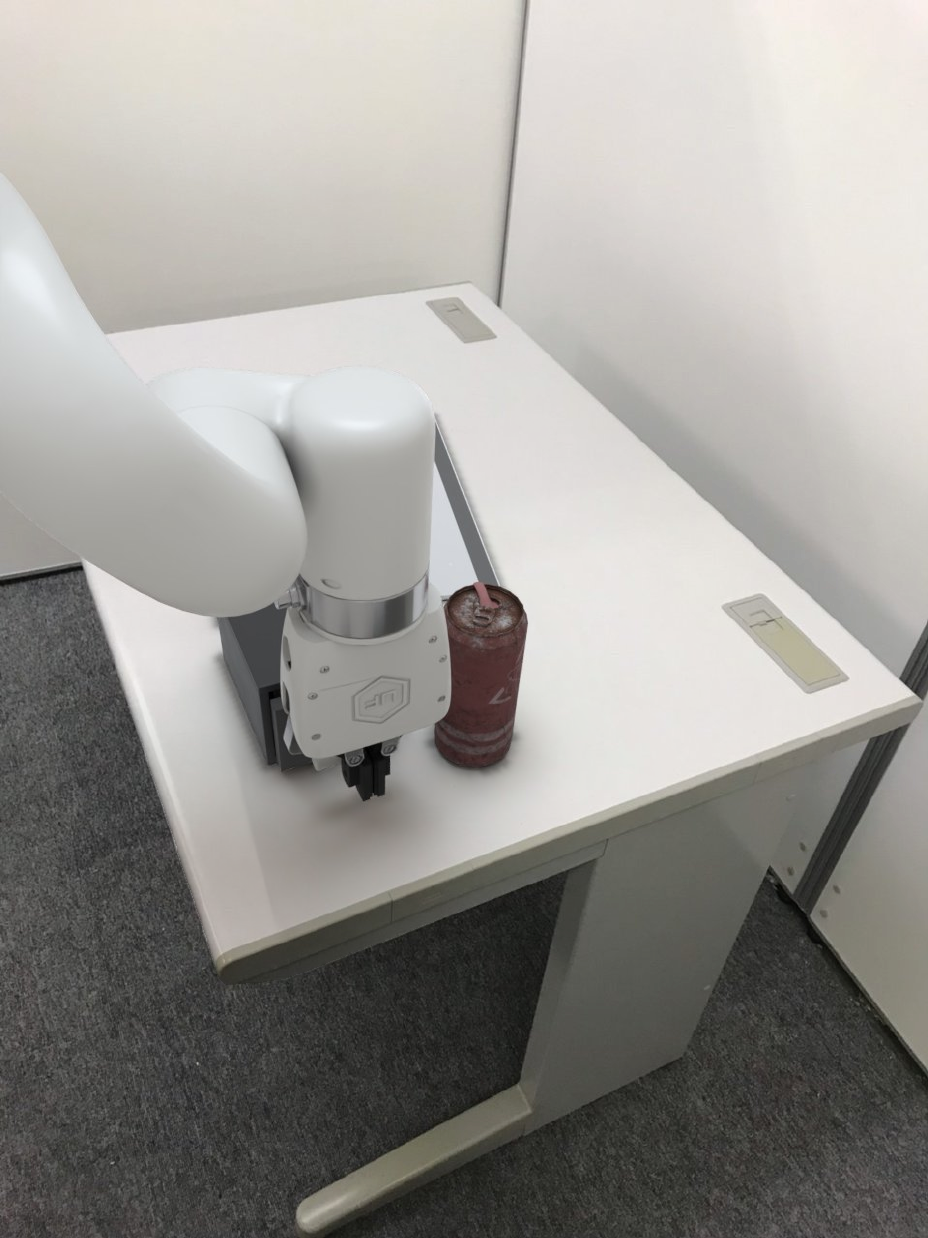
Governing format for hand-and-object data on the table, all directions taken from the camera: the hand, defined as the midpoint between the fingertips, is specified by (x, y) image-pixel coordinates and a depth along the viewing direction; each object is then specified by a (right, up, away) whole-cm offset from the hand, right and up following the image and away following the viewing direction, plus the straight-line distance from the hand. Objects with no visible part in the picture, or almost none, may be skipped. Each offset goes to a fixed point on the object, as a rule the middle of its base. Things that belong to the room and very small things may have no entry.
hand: (366, 783), depth 68 cm
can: (+7, +2, +9) cm, 12 cm away
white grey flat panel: (-6, +23, +31) cm, 39 cm away
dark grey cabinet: (-6, +6, +11) cm, 14 cm away
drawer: (-4, +4, +8) cm, 10 cm away
